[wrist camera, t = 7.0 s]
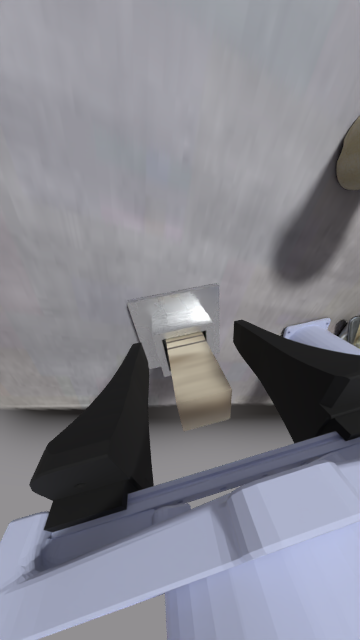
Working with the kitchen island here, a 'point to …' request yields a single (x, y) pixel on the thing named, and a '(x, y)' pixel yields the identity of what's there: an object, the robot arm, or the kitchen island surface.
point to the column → (198, 382)
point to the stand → (175, 320)
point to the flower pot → (350, 159)
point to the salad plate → (352, 332)
